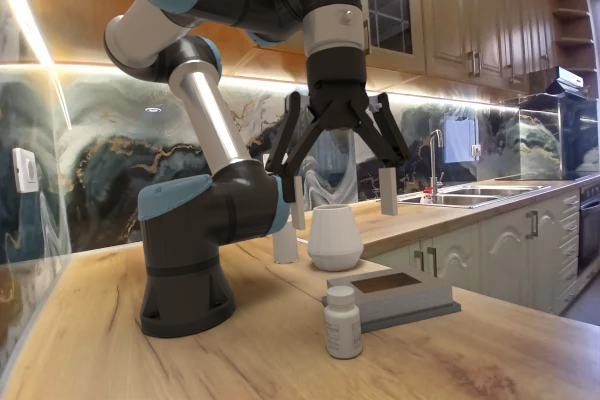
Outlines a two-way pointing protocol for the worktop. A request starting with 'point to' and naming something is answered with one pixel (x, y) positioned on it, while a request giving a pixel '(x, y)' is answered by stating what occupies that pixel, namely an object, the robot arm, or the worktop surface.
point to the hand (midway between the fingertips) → (346, 221)
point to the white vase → (334, 238)
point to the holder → (397, 296)
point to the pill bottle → (342, 323)
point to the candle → (285, 244)
